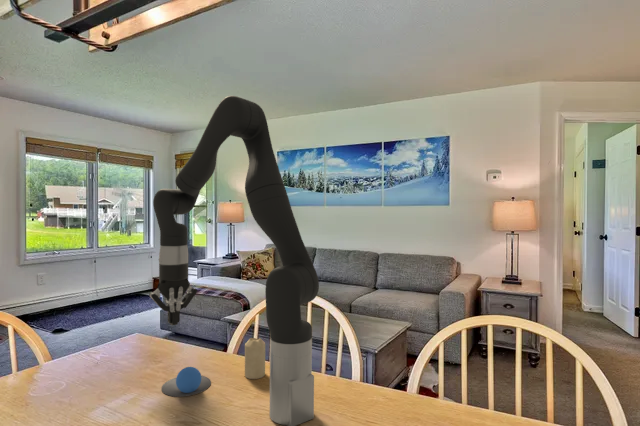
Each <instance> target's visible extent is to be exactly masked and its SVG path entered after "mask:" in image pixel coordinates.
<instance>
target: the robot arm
mask: <svg viewBox="0 0 640 426" xmlns="http://www.w3.org/2000/svg"><path fill="white" fill-rule="evenodd" d="M231 136H232V137H237V138H240V139H241V140H242V141H243V143H244V144H243V145H244V146H245V148H246V153H247V155H248V169H247V172H246V177H245V182H244V191H245V196H246V199H247V204H248V207H249V209H250V212H251V215H252V217H253V219H254V221H255V223H256V224H257V225H258V226H259V228H260V229H261V230H262V231H263V233H264V234H265V235H266V236H267V237H268V238H269V240H270V241H271V243H273V245H274V246H275V248H276V250H277V252H278V255H279V258H280V261H281V263H282V265H280V266H277V267H275V268H273V269H272V270H271V271H270V272H269V274H268V276H267V278H266V282H265V295H264V296H265V310H266V311H265V312H266V313H265V315H266V317H265V318H266V324H267V327H268V329H269V334H270V335H269V418H270V419H271V421H272V422H274V423H276V424H279V425H281V426H282V425H283V426H298V425H301V424H303V423H306V422H308V421H310V420H312V419H315V417H314V415H315V413H314V412H315V375H314V374H313V373H312V371H313V370H312V369H313V368H312V365H313V364H312V362H313V361H312V360H313V359H312V358H313V357H312V356H313V352H312V351H313V348H312V347H313V327H312V324H311V323H310V322H309V321H308V320H305V319H304V320H303V319H302V313H301V312H302V309H301V306H302V305H305V304H308V303H310V302H312V301H313V300H315V298H316V297H317V296H318V293H319V289H320V283H319V282H320V281H319V277H318V273H317V270H316V268H315V266H314V264H313V262H312V259H311V256H310V254H309V253H308V250H307V248H306V246H305V243H304V241H303V238H302V236H301V233H300V230H299V226H298V223H297V221H296V218H295V215H294V213H293V210H292V206H291V205H292V204H291V202H290V199H289V195H288V193H287V188H286V186H285V183H284V181H283V179H282V175H281V172H280V169H279V166H278V162H277V159H276V156H275V153H274V149H273V145H272V141H271V135H270V131H269V124H268V120H267V117H266V114H265V111H264V110H263V108H262V107H261V106H260V105H259V104H257V103H256V102H254V101H251V100H249V99H246V98H243V97H239V96H236V95H228V96H226V97H224V98H223V99H222V100H221V101H220V102H219V103H218V104H217V106H216V108H215V110H214V111H213V114H212V116H211V117H210V119H209V121H208V123H207V126H206V127H205V129H204V131H203V133H202V136H201V138H200V140H199V142H198V144H197V146H196V147H195V150H194V151H193V152H192V155H191V156H190V157H189V159H188V160H187V162H186V163H185V164H184V166H183V167H182V168H181V170H180V171H178V174H177V175H176V176H175V185H176V187H177V188H161V189H159V190H158V191H156V193H155V194H154V196H153V201H152V204H153V210H154V213H155V216H156V222H157V224H158V227H159V228H158V229H159V231H160V232H159V233H160V234H159V235H160V236H159V240H160V241H159V253H158V255H159V257H158V268H159V269H158V279H159V280H158V281H159V282H158V284H157V286H156V287H157V288H156V289H155V290H154V291H153V292H152V291H150V293H149V294H148V296H149V297H150V299H152V300H153V302H154V303H155V304H156V305H157V306H158V307H159V308H160V309H161V310H162V311H166V312H167V322H168V324H169V325H171V326H177V325H178V323H180V321H181V319H180V318H181V316H180V315H181V313H180V312H181V311H182V309H185V308H187V307H188V305H190V303H191V301H192V299H193V298H194V297H195V295H196V294H197V292H198V289H197V288H196V287H194V286H191V283H190V281H189V249H188V227H187V225H186V224H183V223H180V222H177V220H176V219H175V216H179V215H180V216H181V215H186V214H188V213H190V212H191V211H192V210H193V209H194V208H195V206H196V203H197V200H198V198H199V194H200V192H201V190H202V189H203V188H204V187H205V185H206V184H207V183H208V181H209V180H211V178H212V176H213V174H214V173H215V170H216V165H217V158H218V157H217V156H218V152H219V149H220V148H221V145H222V144H223V143H224V142H225V141H226V140H227V139H229V138H230V137H231ZM184 295H185V296H184ZM161 296H163V297H164V298H165V302H166V304H165V303H164V302H163V301H162V300H161Z"/></svg>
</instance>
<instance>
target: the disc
mask: <svg viewBox="0 0 640 426" xmlns="http://www.w3.org/2000/svg"><path fill="white" fill-rule="evenodd" d="M176 378H177V376H175V377H173V378H171V379H169V380H167V381H166V382H164V383H163V384H162V386H161V392H162V393H163V394H164V395H166V396H169V397H173V398H175V397H176V398H177V397H179V398H181V397H183V398H184V397H189V396H193V395H194V396H195V395H197V394H201V393H202V392H205V391H206V390H208V389H209V388H210V387H211V385H212V380H211V379H210V377H208V376H205V375H202V374H201V383H200V385H199V387H198V388H197V389H196V390H195V391H193V392H191V393H184V392H181V391H180V390H179V389H178V387H177V385H176Z"/></svg>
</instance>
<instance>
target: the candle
mask: <svg viewBox="0 0 640 426" xmlns="http://www.w3.org/2000/svg"><path fill="white" fill-rule="evenodd" d="M265 375H266V342H265V341H264V340H263V339H262V338H260V337H259V338H255V337H253V338H252V337H250V338H249V339H248V340H247V342H245V343H244V377H245V378H246V379H249V380H258V379H261V378H264V377H265Z"/></svg>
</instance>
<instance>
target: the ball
mask: <svg viewBox="0 0 640 426" xmlns="http://www.w3.org/2000/svg"><path fill="white" fill-rule="evenodd" d="M201 375H202V373H201V372H200V370H199V369H198V368H196V367H194V366H187V367H184V368H182V369H181V370H180V371H179V372H178V373H177V375H176V377H177V378H176V377H175V378H176V385H177V387H178V389H179V390H180V391H181V392H184V393H191V392H193V391H195V390H196V389H197V388H198V387H199V385H200V383H201Z"/></svg>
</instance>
